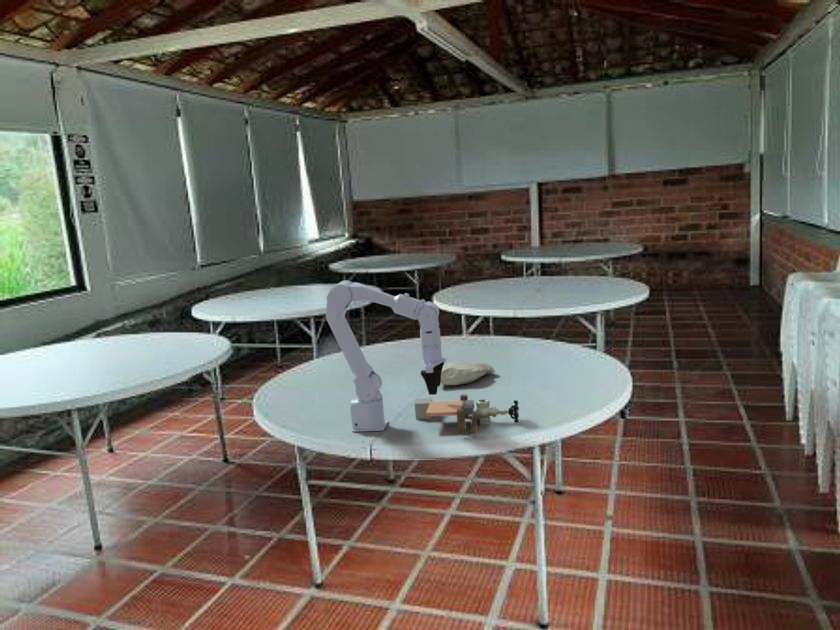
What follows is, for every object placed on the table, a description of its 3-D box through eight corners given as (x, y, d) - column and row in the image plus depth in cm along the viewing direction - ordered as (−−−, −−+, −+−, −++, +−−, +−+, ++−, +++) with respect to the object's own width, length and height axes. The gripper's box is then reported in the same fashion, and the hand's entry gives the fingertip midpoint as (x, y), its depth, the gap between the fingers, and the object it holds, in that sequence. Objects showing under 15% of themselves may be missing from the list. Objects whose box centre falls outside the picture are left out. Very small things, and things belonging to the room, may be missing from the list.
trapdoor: (426, 418, 187) (425, 411, 186) (430, 406, 196) (430, 400, 196) (472, 416, 185) (471, 409, 184) (474, 404, 194) (473, 398, 194)
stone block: (415, 419, 198) (414, 403, 197) (418, 414, 203) (416, 398, 202) (431, 419, 198) (430, 403, 197) (433, 413, 202) (432, 398, 201)
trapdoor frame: (458, 433, 183) (456, 411, 182) (462, 415, 198) (460, 394, 197) (476, 433, 183) (474, 410, 181) (478, 414, 197) (477, 394, 196)
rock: (500, 359, 239) (459, 368, 219) (500, 379, 239) (460, 389, 219) (457, 356, 251) (415, 364, 231) (457, 375, 251) (416, 384, 232)
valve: (475, 426, 188) (517, 426, 185) (474, 404, 187) (516, 404, 184) (478, 418, 194) (519, 418, 192) (477, 397, 193) (518, 396, 191)
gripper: (441, 350, 180) (445, 397, 183) (447, 338, 195) (450, 382, 197) (416, 351, 182) (420, 398, 184) (424, 339, 196) (427, 383, 198)
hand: (434, 390), depth 191 cm, fingers open, 7 cm apart
